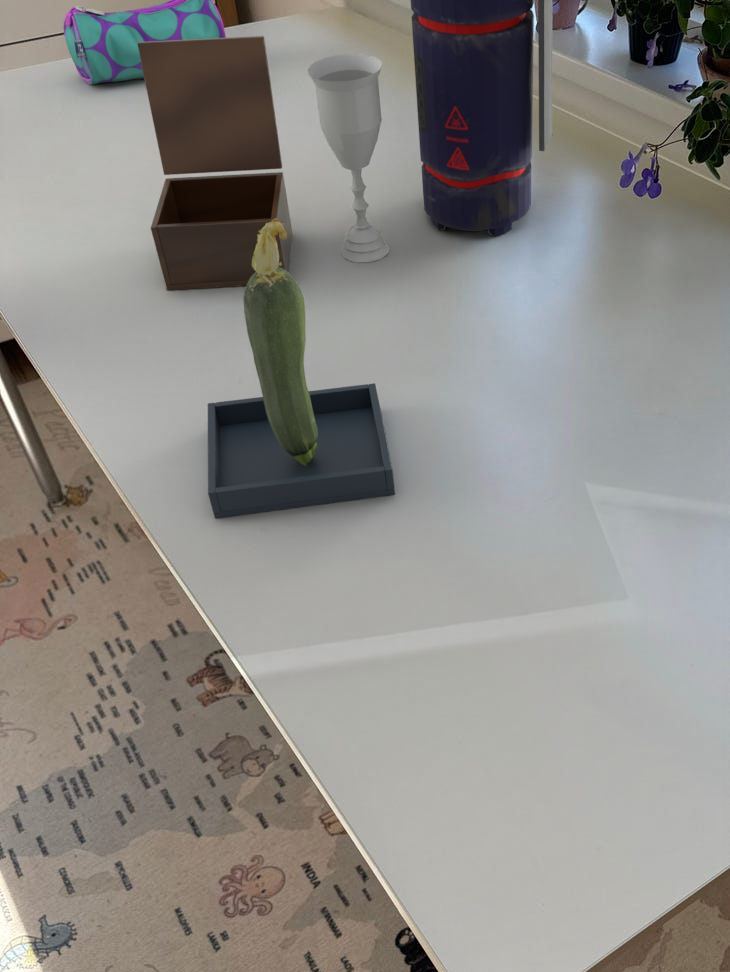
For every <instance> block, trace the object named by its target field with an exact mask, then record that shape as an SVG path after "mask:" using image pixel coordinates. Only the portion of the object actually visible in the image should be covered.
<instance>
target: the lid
mask: <svg viewBox="0 0 730 972" xmlns="http://www.w3.org/2000/svg"><path fill="white" fill-rule="evenodd" d="M265 40H266V39H265V35H254V36H253V35H252V36H250V35H249V36H232V37H226V38H209V39H189V40H169V41H149V42H138V43H137V45H138V50H139V55H140V60H141V65H142V69H143V74H144V78H143V79H144V83H145V88H146V93H147V98H148V103H149V108H150V114H151V117H152V123H153V127H154V132H155V137H156V141H157V142H156V143H157V148H158V152H159V157H160V161H161V167H162V171H163V175H164V176H170V175H173V176H174V175H187V174H188V175H190V174H191V175H192V174H206V173H207V174H208V173H225V172H226V173H227V172H244V171H247V172H248V171H262V170H263V171H264V170H265V171H266V170H281V169H282V168H283V163H282V153H281V147H280V141H279V140H280V139H279V133H278V127H277V126H278V125H277V119H276V112H275V105H274V104H275V103H274V97H273V90H272V83H271V76H270V69H269V63H268V55H267V48H266V47H267V46H266V41H265Z"/></svg>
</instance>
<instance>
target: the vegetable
mask: <svg viewBox="0 0 730 972" xmlns="http://www.w3.org/2000/svg"><path fill="white" fill-rule="evenodd" d="M283 224H284V225H285V223H283ZM258 232H259V233H261V234H260V235H259V234H258V235H257V236H258V239H257V241H258V243H257V244H256V248H255V251H254V256H253V258H252V267H253V268H254V270H255V271H256V272H255V273H254V274H253V275H252V276H251V278H250V279H249V281H248V283H247V286H245V289H244V293H243V312H244V313H243V314H244V319H245V324H246V325H245V326H246V331H247V335H248V336H247V337H248V341H249V344H250V348H251V351H252V356H253V362H254V366H255V370H256V373H257V377H258V381H259V386H260V389H261V394H262V397H263V400H264V405H265V409H266V413H267V417H268V420H269V422H270V425H271V427H272V430H273V432H274V434H275V437H276V439H277V441H278V443H279V444H280V446H281V447H282V448H283V449H284V450H285V451H286V452H287V453H288V454H290V455H291V456H294V457H295V459H296V460H297V461H299V462H300V463H301V464H303V465H305V466H307V463H308V462H309V463H310V461H311V460H312V457H313V455H314V453H315V450H316V449H317V443H316V441H317V437H318V429H317V425H316V421H315V417H314V413H313V409H312V404H311V399H310V395H309V391H310V390H309V388H308V385H307V379H306V373H305V350H306V340H307V339H306V338H307V337H306V336H307V335H306V307H305V306H306V305H305V299H304V295H303V293H302V289H301V288H300V286H299V285H300V284H298V282H297V281H296V279H295V278H294V277H293V276H292V274H290V273H289V271H288V272H287V271H286V270H284V269H283V268H280V267H278V266H282V263H281V262H279V251H278V247H277V241H276V239H275V235H277V234H278V233H280V235H279V237H280V238H283V240H284V239H287V238H286V237H287V232H286V231H285V229H284V228H283V226H282V224H281V222H280V221H279V220H278V219H276V218H275V219H273V220H272V221H271V222H269V223H268V224H267V223H266V225H265V226H264V227H263V228H262V229H261V230H259V231H258Z"/></svg>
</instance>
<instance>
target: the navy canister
mask: <svg viewBox="0 0 730 972" xmlns="http://www.w3.org/2000/svg"><path fill="white" fill-rule="evenodd" d="M534 4H535V0H410V10H411V11H412V12H413V14H411V29H412V45H413V47H412V48H413V62H414V76H415V77H414V78H415V92H416V94H415V95H416V108H417V123H418V124H417V125H418V138H419V140H418V141H419V154H420V155H419V156H420V162H421V163H422V165H421V179H422V180H421V181H422V195H423V197H422V198H423V210H424V212H425V214H426V215H427V216H428V217H429V219H430V223H431V224H432V225H433V227H434V228H436V229H437V230H438V231H444V230H446V227H447V228H451V229H454V230H460V231H471V232H473V231H474V232H475V231H487V230H488V234H489V235H490V236H492V237H497V236H500V235H504V234H506V233H509V232H510V231H511V230H513V222H516V221H518V220H519V219H521V218H523V217H524V216H525V215H527V213H528V212H529V210H530V208H531V205H532V162H531V161H532V158H533V113H534V112H533V111H534V110H533V108H534V107H533V106H534V105H533V103H534V98H533V97H534V38H535V37H534V34H535V33H534V32H535V31H534V30H535V29H534V28H535V27H534V26H535V25H534V24H535V14H534V12H533V10H532V9H533V7H534ZM553 5H554V3H553V0H537V10H538V11H537V13H538V15H537V17H538V19H537V21H538V22H537V23H538V26H537V27H538V28H537V31H538V32H537V33H538V36H537V37H538V40H537V41H538V151H539V152H545V151H546V149H548V146H549V144H550V142H551V140H552V138H553Z"/></svg>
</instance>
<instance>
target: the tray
mask: <svg viewBox="0 0 730 972" xmlns="http://www.w3.org/2000/svg"><path fill="white" fill-rule="evenodd" d="M308 391H309V395H310V399H311V404H312V409H313V413H314V417H315V421H316V425H317V429H318V437H317V441H316V443H317V449H316V450H315V453H314V455H313V457H312V460H311V461H310V463H309V462H308V463H307V466H305V465H303V464H301V463H300V462H299V461H297V460H296V459H295V457H294V456H291V455H290V454H288V453H287V452H286V451H285V450H284V449H283V448H282V447H281V446H280V444H279V443H278V441H277V439H276V437H275V434H274V432H273V430H272V427H271V425H270V422H269V420H268V417H267V413H266V409H265V405H264V400H263V396H258V397H249V398H241V399H233V400H225V401H217V402H208V403H207V495H208V498H209V502H210V506H211V509H212V513H213V516H214V519H219V518H227V517H228V518H229V517H234V516H242V515H243V516H244V515H250V514H258V513H265V512H272V511H273V512H274V511H280V510H281V511H282V510H288V509H295V508H302V507H311V506H317V505H325V504H335V503H341V502H348V501H356V500H363V499H371V498H378V497H384V496H386V497H387V496H393V495H396V490H395V478H394V470H393V465H392V460H391V455H390V450H389V445H388V439H387V436H386V430H385V424H384V419H383V414H382V410H381V405H380V400H379V395H378V391H377V385H376V383H367V384H357V385H349V386H341V387H332V388H324V389H316V390H315V389H314V390H308Z"/></svg>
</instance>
